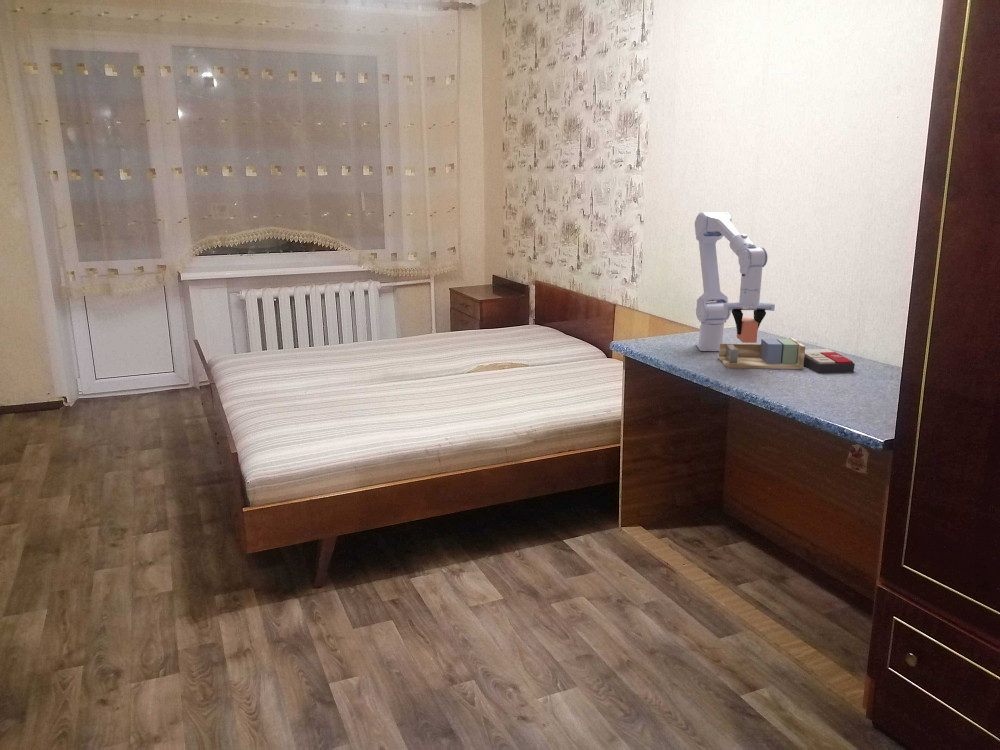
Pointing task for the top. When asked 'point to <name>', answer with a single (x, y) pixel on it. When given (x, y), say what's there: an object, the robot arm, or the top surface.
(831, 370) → the calculator
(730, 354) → the bookend
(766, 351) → the book
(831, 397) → the top surface
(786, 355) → the book
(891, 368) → the top surface
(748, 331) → the orange rectangular block
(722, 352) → the shelf
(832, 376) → the top surface
